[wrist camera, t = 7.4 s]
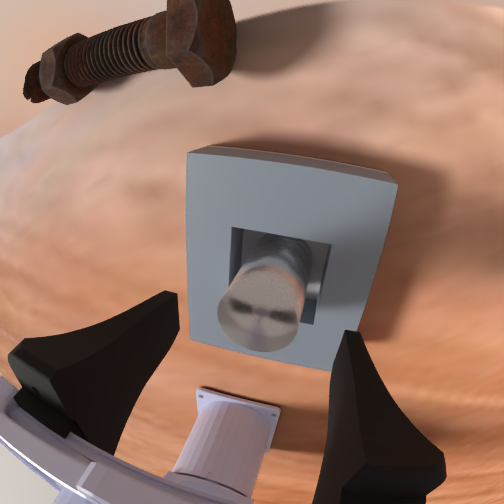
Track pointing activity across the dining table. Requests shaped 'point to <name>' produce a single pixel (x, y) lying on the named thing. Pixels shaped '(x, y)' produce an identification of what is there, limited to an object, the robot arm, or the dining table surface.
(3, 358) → the dining table surface
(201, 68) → the bolt
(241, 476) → the robot arm
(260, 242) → the pin
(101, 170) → the dining table surface
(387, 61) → the dining table surface
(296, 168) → the hole block
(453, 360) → the dining table surface
